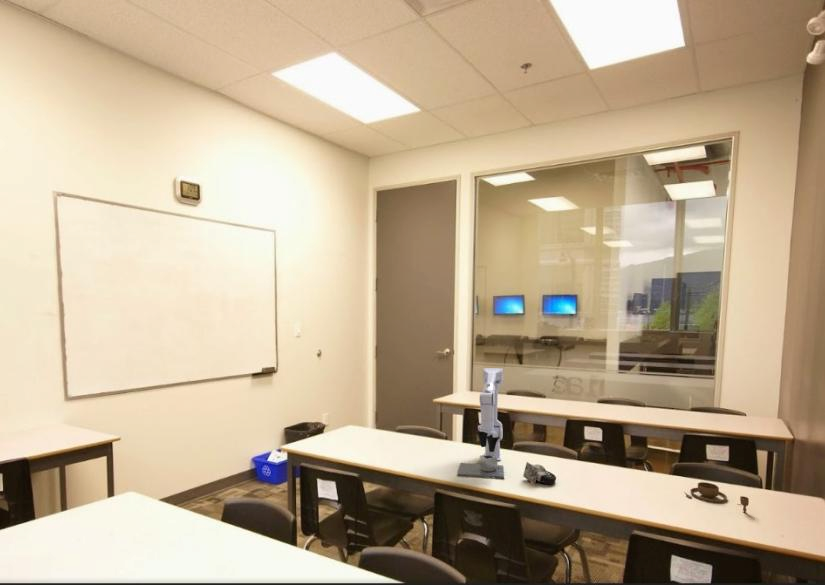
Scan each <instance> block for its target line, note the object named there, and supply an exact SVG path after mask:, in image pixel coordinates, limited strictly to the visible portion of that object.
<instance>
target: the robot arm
mask: <svg viewBox="0 0 825 585" xmlns="http://www.w3.org/2000/svg"><path fill="white" fill-rule="evenodd" d="M482 379H483V383H484V384H483V387H482V392H481V393H480V394H479V405H480V408H479V409H480V424H477V430H476V434H477V436H478V440H479V443H480V446H481V448H484V455H490V454H491V455H493V456H494V457H496V458H497V461H501V462H502V456H501V445H500V444H501V441H502V439H503V434H504V433H503V431H504V430H503V424H502V422H501V421H500V420H498V401H499V400H498V399H499V398H498V397H499V396H498V395H499V394H498V393H499V388H500V387H501V386H503V384H504V383H503V382H504V370H503V368H501V367H500V368H496V367H495V368H493V367H492V368H491V367H484V368H483V369H482Z"/></svg>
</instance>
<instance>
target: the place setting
mask: <svg viewBox="0 0 825 585" xmlns="http://www.w3.org/2000/svg"><path fill="white" fill-rule="evenodd" d="M719 489H720V488H719V486H718V485H716V484H714V483H711V482H705V481H704V482H703V481H700V482H698V483H697V487H692V488H691V489H690V494H691V495H692V496H691V495H690V494H687V493H686V492H685V491H684V492H683V493H684V494H685V496H686V498H688V499H692V498H695V499H698V500H701V501H703V500H704V502H708V503H713V502H714V503H715V504H718V503H719V504H722V503H725V502H726V501H727V498H728V497H727V495H726V494H725V493H723V492H721V491H720V490H719ZM697 491H698V492H699V494H700V495H701V496H699V495H697V494H696V493H697ZM719 496H720V497H721V498H722V499H715V498H717V497H719ZM739 500H740V503H737V505H740V506H743V508H742V514H748V513H747V507H748V506H749V501H750V500H749V497H747V496H743V495H742V496H739Z"/></svg>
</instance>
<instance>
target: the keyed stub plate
mask: <svg viewBox="0 0 825 585" xmlns="http://www.w3.org/2000/svg"><path fill="white" fill-rule="evenodd" d="M504 471H505V470H504V465H499V464H497V470H489V471H485V470H484V469H483V468H481V467H480V463H469V462H467V463H466V462H460V463H459V468H458V471H457V476H458V477H468V476H475V477H474V478H483V477H494V478H493V479H498V478H504V479H505V472H504Z"/></svg>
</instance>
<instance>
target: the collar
mask: <svg viewBox="0 0 825 585" xmlns="http://www.w3.org/2000/svg"><path fill="white" fill-rule="evenodd" d="M479 464H480V467H481V468H483V469H484V470H485V471H489V470H497V465H498V460H497V458H496V457H494V456H493V455H491V454H490V455H485V454H483V455H480V456H479Z"/></svg>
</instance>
